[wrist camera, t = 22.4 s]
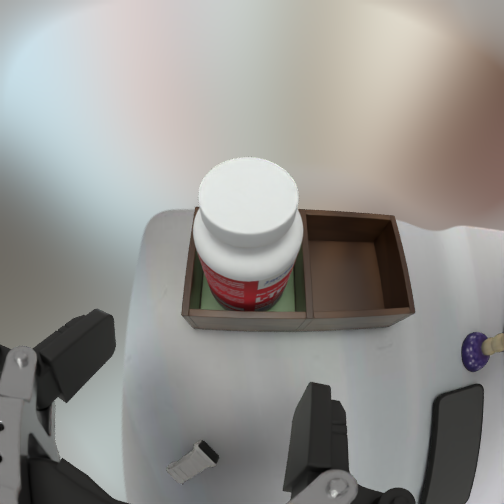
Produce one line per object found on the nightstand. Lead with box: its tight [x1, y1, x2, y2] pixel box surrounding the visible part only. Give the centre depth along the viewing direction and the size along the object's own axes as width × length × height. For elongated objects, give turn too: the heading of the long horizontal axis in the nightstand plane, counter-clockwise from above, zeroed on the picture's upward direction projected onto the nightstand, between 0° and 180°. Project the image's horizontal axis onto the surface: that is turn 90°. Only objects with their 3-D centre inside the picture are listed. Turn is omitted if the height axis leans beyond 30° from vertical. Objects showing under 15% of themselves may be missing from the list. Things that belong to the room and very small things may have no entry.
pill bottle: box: [193, 157, 303, 311], centre depth 17 cm, size 6×6×11 cm
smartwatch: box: [166, 440, 219, 485], centre depth 14 cm, size 4×2×4 cm, turn 132°
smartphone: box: [421, 384, 484, 504], centre depth 14 cm, size 7×1×15 cm
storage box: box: [181, 207, 415, 332], centre depth 21 cm, size 16×8×4 cm, turn 89°
